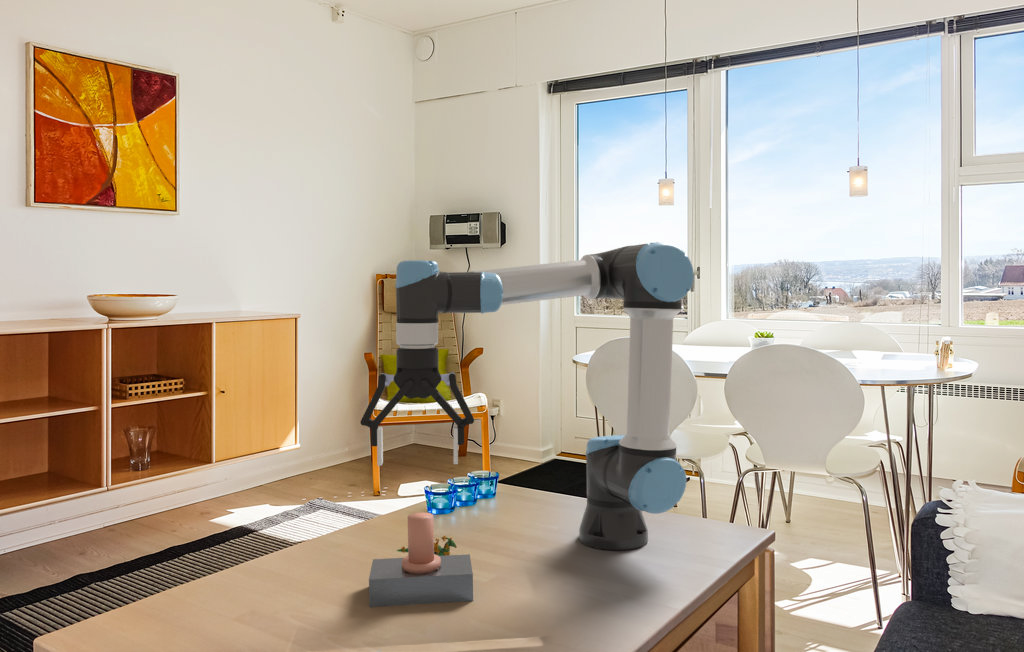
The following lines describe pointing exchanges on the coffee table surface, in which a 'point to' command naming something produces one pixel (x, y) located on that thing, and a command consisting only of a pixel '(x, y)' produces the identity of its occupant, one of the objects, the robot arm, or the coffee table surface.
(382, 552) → the coffee table surface
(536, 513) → the coffee table surface
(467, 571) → the housing
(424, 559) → the flanged shaft
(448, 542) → the figurine
